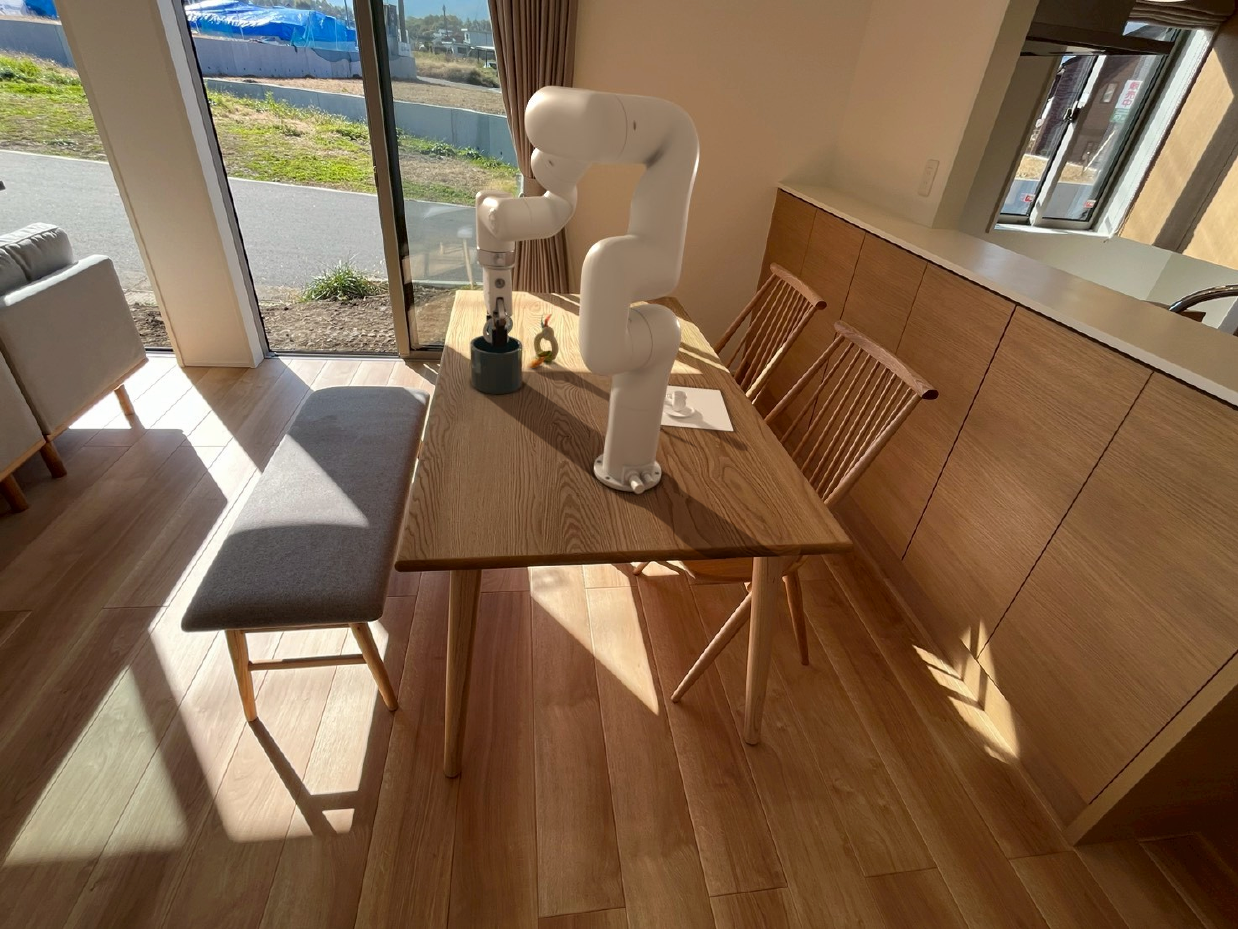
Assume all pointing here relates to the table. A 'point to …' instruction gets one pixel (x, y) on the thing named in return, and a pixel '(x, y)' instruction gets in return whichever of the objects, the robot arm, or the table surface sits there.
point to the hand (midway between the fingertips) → (496, 339)
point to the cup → (496, 366)
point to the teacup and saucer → (695, 409)
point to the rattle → (542, 355)
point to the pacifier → (490, 324)
